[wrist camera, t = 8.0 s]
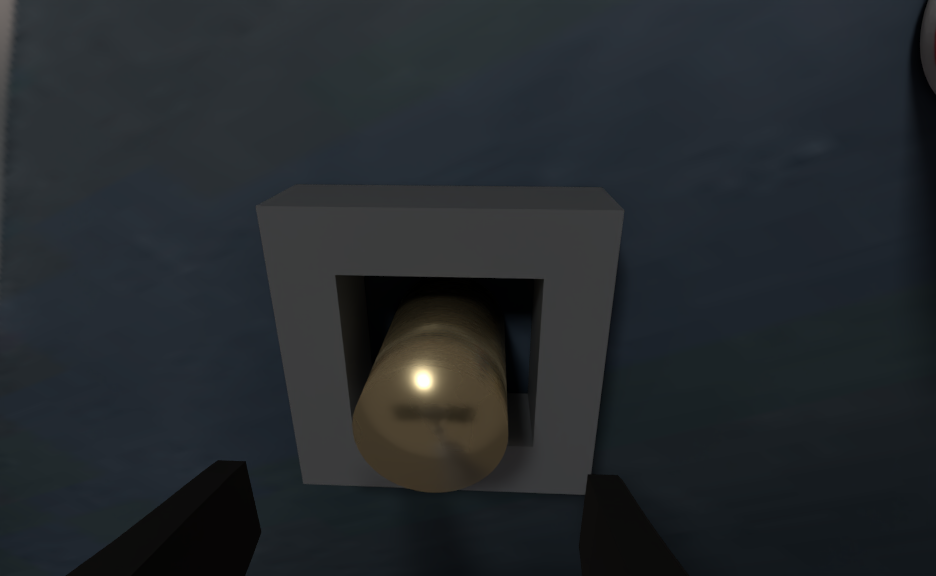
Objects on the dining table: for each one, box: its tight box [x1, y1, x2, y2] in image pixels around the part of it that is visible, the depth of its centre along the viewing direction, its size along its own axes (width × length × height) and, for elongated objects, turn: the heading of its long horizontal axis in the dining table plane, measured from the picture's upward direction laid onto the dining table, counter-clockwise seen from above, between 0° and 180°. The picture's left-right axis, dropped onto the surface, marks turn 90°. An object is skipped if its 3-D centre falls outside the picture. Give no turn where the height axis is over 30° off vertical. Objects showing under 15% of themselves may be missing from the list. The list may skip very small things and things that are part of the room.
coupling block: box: [256, 184, 624, 495], centre depth 17 cm, size 10×10×3 cm
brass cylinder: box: [352, 277, 508, 493], centre depth 15 cm, size 4×4×6 cm
